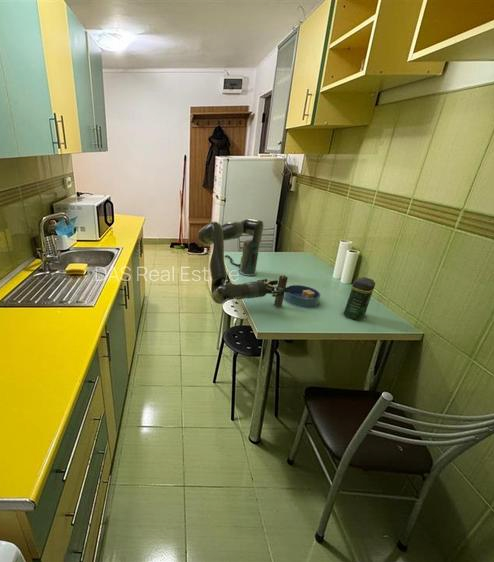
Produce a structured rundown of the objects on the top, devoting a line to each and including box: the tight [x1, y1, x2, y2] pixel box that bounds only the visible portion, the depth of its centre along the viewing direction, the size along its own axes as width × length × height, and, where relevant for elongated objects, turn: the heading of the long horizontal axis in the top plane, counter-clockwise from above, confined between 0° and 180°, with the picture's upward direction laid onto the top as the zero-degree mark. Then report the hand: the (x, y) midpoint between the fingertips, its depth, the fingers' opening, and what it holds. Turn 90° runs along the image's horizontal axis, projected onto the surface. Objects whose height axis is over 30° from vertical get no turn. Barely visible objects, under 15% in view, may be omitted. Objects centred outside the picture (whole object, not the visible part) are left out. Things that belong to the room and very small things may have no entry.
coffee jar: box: [343, 276, 376, 321], centre depth 138 cm, size 10×8×19 cm
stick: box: [273, 274, 289, 308], centre depth 145 cm, size 3×3×16 cm
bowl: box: [283, 284, 321, 308], centre depth 154 cm, size 16×16×5 cm
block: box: [302, 290, 315, 299], centre depth 155 cm, size 4×4×4 cm
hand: (283, 285), depth 144 cm, fingers open, 8 cm apart
